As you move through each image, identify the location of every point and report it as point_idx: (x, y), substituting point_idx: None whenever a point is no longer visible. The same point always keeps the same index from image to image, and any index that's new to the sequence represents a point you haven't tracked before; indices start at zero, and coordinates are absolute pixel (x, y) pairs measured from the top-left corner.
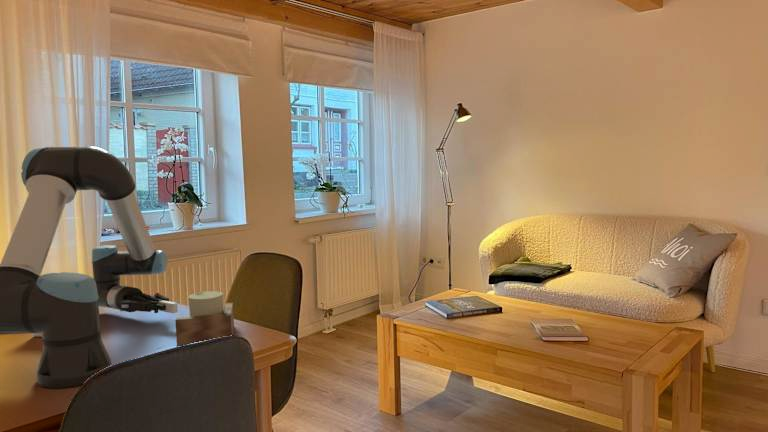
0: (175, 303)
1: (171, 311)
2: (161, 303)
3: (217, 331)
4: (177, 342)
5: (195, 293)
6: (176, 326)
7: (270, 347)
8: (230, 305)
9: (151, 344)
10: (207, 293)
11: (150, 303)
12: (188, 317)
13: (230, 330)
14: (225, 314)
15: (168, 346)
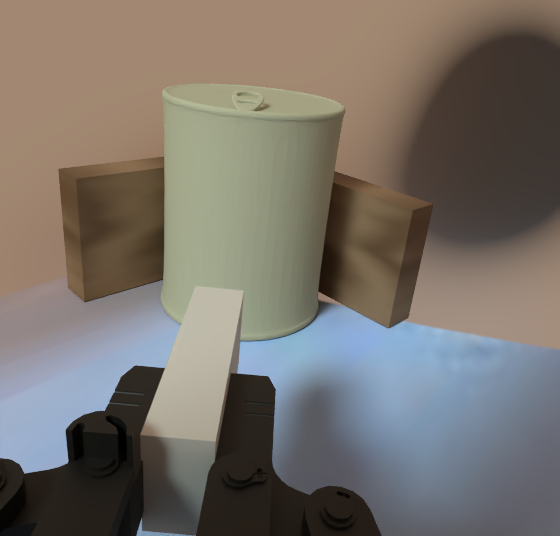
0: (214, 289)
1: (237, 366)
2: (223, 414)
3: None
4: (408, 303)
5: (254, 109)
6: (424, 234)
7: None
8: (118, 164)
9: (491, 401)
10: (216, 99)
11: (324, 491)
12: (371, 191)
13: None
14: None
15: (437, 336)
